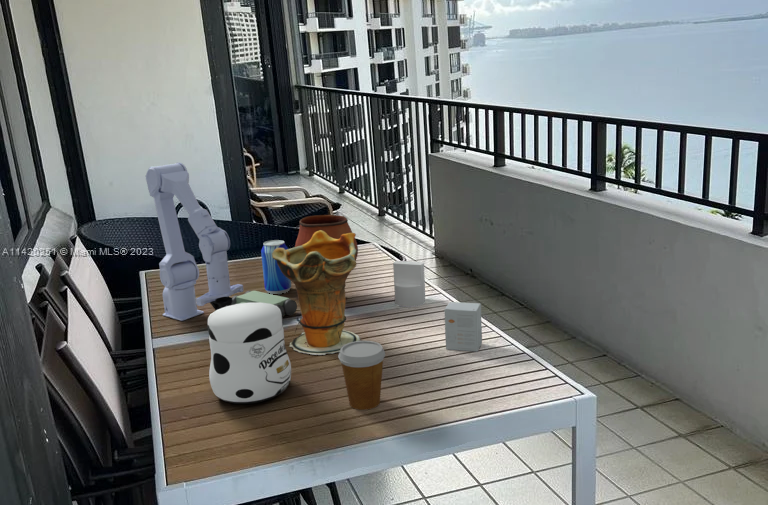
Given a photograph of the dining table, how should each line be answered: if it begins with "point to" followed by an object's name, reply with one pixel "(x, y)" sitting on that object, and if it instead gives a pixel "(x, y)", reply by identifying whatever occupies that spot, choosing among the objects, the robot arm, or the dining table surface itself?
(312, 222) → the terracotta pot
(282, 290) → the beer can
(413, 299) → the cylinder with rectangular tab
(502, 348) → the dining table surface
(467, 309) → the small box
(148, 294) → the dining table surface
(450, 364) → the dining table surface
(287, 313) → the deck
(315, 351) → the decorative vase
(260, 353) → the milk container
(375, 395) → the disposable coffee cup
